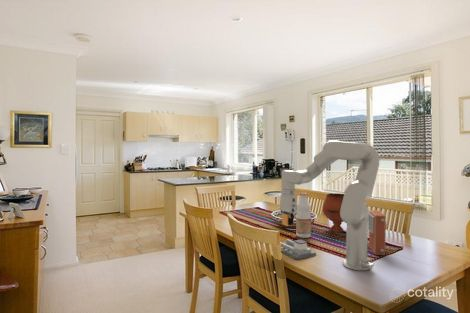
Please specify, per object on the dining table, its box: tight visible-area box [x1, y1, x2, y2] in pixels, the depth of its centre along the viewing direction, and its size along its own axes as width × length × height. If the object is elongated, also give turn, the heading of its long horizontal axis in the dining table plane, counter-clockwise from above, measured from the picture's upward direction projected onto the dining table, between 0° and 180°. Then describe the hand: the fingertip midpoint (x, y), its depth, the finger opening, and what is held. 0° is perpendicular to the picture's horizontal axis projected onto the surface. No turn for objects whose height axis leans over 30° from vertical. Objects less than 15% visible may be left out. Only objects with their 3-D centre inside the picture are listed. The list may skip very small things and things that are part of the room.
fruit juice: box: [295, 192, 312, 239], centre depth 195 cm, size 9×9×28 cm
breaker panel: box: [280, 238, 317, 260], centre depth 168 cm, size 22×13×4 cm, turn 28°
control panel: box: [368, 209, 387, 256], centre depth 167 cm, size 21×7×15 cm
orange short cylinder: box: [281, 212, 295, 227], centre depth 171 cm, size 5×5×7 cm
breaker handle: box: [293, 238, 308, 251], centre depth 162 cm, size 5×5×5 cm
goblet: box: [322, 192, 345, 233], centre depth 208 cm, size 19×19×25 cm
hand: (287, 223), depth 171 cm, fingers closed on orange short cylinder, 4 cm apart
